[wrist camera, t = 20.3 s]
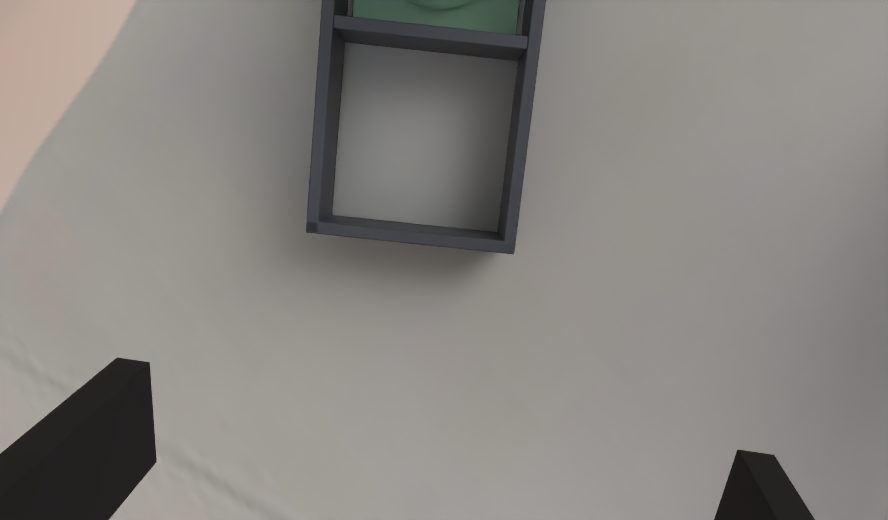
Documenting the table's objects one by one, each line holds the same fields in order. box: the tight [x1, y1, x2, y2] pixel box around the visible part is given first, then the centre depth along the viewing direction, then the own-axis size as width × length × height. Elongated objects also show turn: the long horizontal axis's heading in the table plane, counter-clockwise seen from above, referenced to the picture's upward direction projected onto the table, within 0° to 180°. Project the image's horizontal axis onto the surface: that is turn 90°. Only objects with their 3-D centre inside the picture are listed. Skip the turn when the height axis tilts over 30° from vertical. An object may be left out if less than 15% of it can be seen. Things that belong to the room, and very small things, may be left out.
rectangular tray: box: [306, 0, 546, 254], centre depth 30 cm, size 10×20×4 cm, turn 174°
